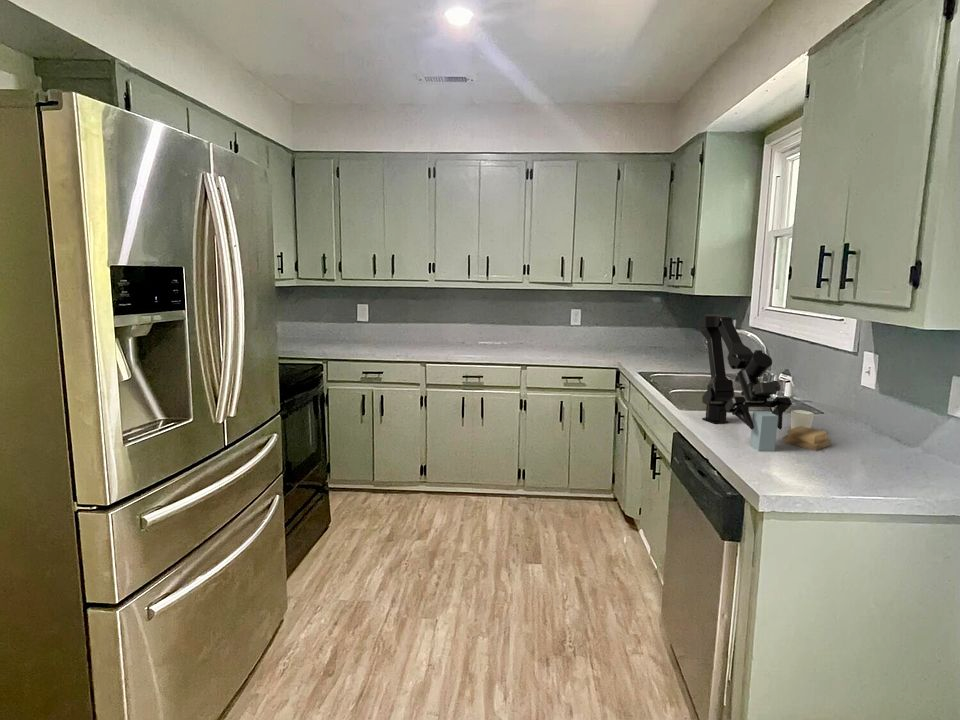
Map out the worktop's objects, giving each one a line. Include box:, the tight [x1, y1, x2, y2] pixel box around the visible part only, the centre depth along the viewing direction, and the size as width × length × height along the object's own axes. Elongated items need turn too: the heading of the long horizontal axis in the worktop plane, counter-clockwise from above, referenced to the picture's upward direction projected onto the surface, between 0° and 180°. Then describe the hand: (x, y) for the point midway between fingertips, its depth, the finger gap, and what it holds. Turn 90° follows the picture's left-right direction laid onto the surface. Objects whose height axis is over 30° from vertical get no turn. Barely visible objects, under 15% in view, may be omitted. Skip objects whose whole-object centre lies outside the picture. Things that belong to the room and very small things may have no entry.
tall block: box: [749, 411, 778, 452], centre depth 174 cm, size 5×5×11 cm
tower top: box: [787, 426, 828, 444], centre depth 180 cm, size 8×8×2 cm
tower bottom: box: [782, 434, 832, 451], centre depth 181 cm, size 10×10×2 cm
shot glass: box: [790, 409, 815, 429], centre depth 193 cm, size 7×7×7 cm
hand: (766, 428), depth 172 cm, fingers open, 8 cm apart
